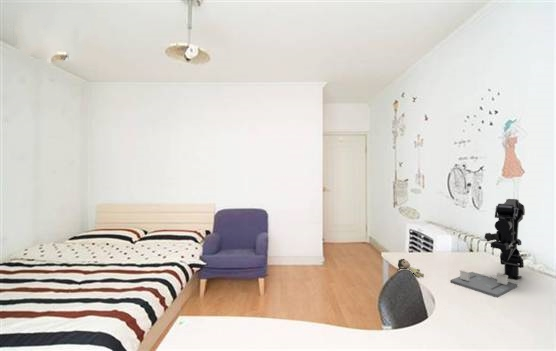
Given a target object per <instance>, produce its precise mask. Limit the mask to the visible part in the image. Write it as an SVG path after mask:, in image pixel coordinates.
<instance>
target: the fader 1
mask: <svg viewBox="0 0 556 351" xmlns="http://www.w3.org/2000/svg"><path fill="white" fill-rule="evenodd" d="M459 272H460V273H459V274H460V276H459V277H460V279H463V280H467V281H469V280H470V272H471V271H468V270H465V269H460V270H459Z"/></svg>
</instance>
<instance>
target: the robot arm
mask: <svg viewBox="0 0 556 351" xmlns="http://www.w3.org/2000/svg"><path fill="white" fill-rule="evenodd" d="M525 210H526V209H525V205H524V204H523V203H521V202H520V201H519V199H516V198H507V199H505V202H504V203H498V204H497V205H496V206H495V210H494V212H495V213H494V218H495V219H498V220H497V221H496V222H495V223H494V228H495V230H496V232H495V233H490V232H488V233H487V232H486V233H485V234H484V237H483V238H484V239H485V240H486V242H490V241H492V242H490V248H493V249H497V250H500V252H501V253H499V254H500V255H499V260H500V265H504V273H503V274H504V275H508V278H509V279H512V280H515V281H517V280H519V279H521V278H522V276H521V275H520V272H519V268H520V269H522V268H524V267H525V264H524V259H523V258H522V256H521V252H520V251H519V249H518V246H521V245H522V240H521V239H519V238H518V237H519V225H520V224H519V223H520V222H521V221H522V220H523V219H524V216H525V215H526V214H525V213H526V212H525Z"/></svg>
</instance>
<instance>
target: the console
mask: <svg viewBox="0 0 556 351" xmlns="http://www.w3.org/2000/svg"><path fill="white" fill-rule="evenodd" d="M469 272H470V280H469V281H467V280H463V279H460V276H458V277H455V278H452V279H450V280H449V282H450V283H451V284H454V285H457V286H460V287H464V288H467V289H470V290H473V291H476V292H478V293H481V294H485V295H488V296H491V297H494V298H499V297H501V296H503V295H504V294H507V293H509V292H511V291H513V290H515V289H517V288H518V287H519V285H518V283H515V282H514V283H513V282H510V281H508V284H507V285H505V284H501V283H497V277H492V276H491V275H486V274H481V273H478V272H474V271H469Z"/></svg>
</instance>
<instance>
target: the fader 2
mask: <svg viewBox="0 0 556 351" xmlns="http://www.w3.org/2000/svg"><path fill="white" fill-rule="evenodd" d="M504 274H505V273H500V272H498V273H496V278H497V283H501V284H505V285H507V284H508V282H509V281H508V280H509V279H508V275H504Z"/></svg>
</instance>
